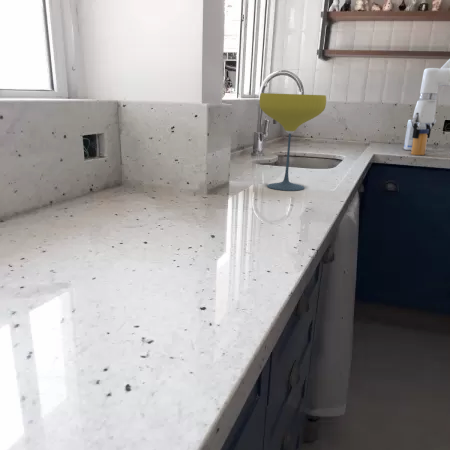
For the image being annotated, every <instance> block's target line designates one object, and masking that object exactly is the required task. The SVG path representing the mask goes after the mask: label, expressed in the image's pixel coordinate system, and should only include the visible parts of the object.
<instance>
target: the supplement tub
mask: <svg viewBox="0 0 450 450" xmlns="http://www.w3.org/2000/svg"><path fill="white" fill-rule="evenodd" d="M411 120H412V119H408V121H407V123H406V124H407V125H406V129H405V135H404V136H405V137H404V143H403V150H404V151H411V150H412V142H413V138H412V136H413V130H414V129H413V126H412V123H411ZM417 126H418V124H417ZM419 129H426V125H425V124H421V126H420V128H419Z"/></svg>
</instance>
